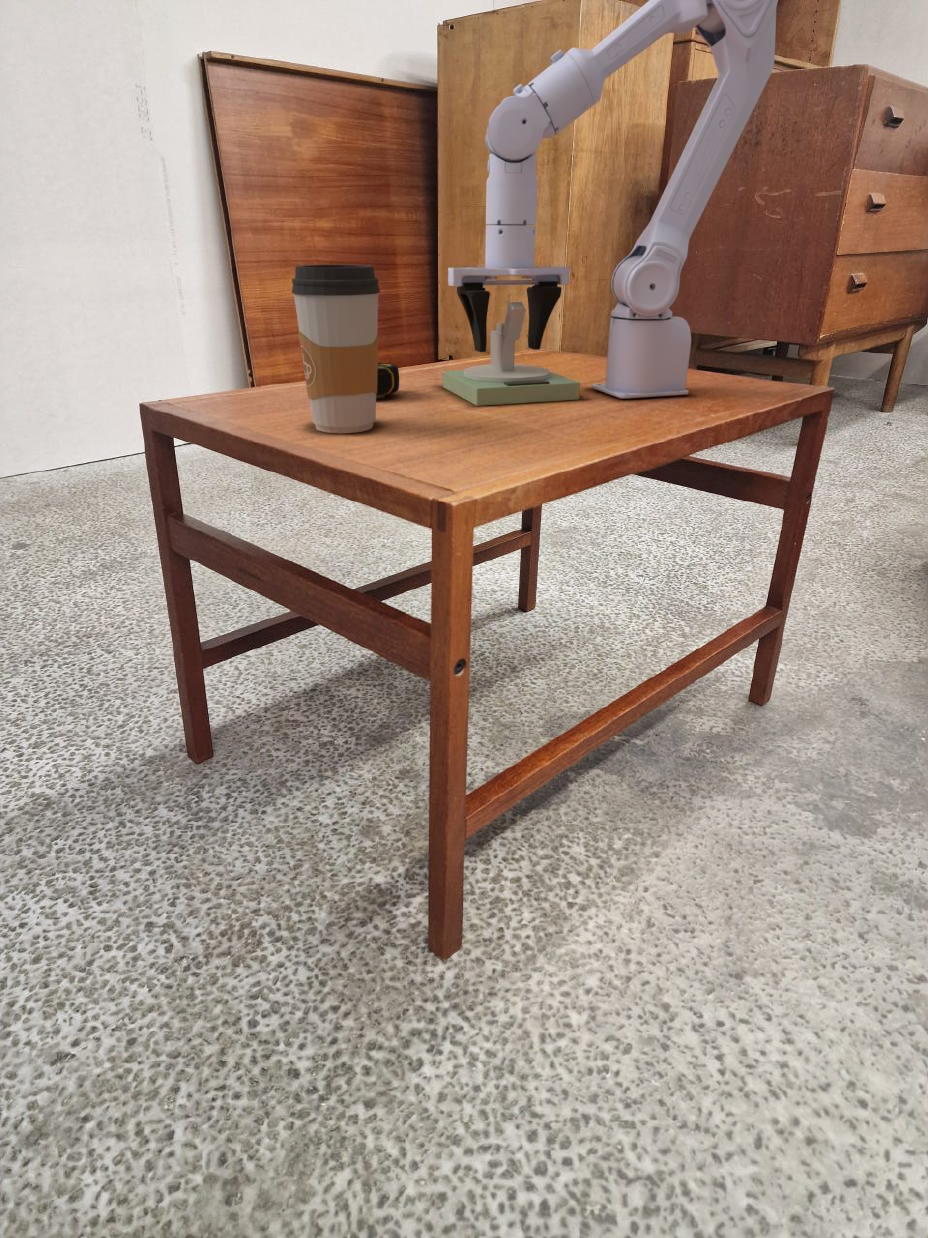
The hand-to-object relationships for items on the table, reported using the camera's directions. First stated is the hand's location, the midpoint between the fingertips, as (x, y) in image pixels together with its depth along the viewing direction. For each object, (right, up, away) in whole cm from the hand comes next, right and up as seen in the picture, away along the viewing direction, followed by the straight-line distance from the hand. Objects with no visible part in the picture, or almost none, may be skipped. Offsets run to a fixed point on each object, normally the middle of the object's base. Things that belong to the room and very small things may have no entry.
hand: (507, 349), depth 97 cm
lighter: (0, -2, +1) cm, 3 cm away
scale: (0, -5, +2) cm, 5 cm away
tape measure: (-17, -6, 0) cm, 18 cm away
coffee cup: (-17, -13, -16) cm, 27 cm away
